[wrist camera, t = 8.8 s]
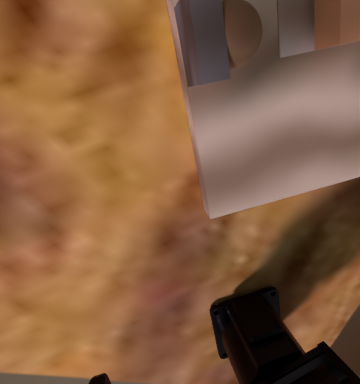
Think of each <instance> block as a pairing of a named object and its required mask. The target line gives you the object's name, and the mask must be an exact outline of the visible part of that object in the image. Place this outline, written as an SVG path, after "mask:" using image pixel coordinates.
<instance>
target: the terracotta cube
mask: <svg viewBox="0 0 360 384" xmlns="http://www.w3.org/2000/svg"><path fill="white" fill-rule="evenodd" d="M314 38H315V50H320V49H324V48H329V47H334V46H338V45H343V44H347V43H352V42H356V41H360V0H314Z"/></svg>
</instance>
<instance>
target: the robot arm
mask: <svg viewBox="0 0 360 384" xmlns="http://www.w3.org/2000/svg"><path fill="white" fill-rule="evenodd" d="M272 292H273V293H272ZM215 311H216V312H215ZM210 316H211V320H212V325H213V330H214V335H215V340H216V344H217V349H218V354H219V356H220V358H221V359H226V358H229V360H230V362H231V365H232V367H233V370H234V372H235V375H236V377H237V380H238V382H239V384H360V378H359V377H358V376H357V375H356V374H355V373H354V372H353V371H352V370H351V369H350V368H349V367H348V366H347V365H346V364H345V363H344V362H343V361H342V360H341V359H340V357H338V356H337V355H336V353H335V352H334V351H333V350H332V349H331V348H330V347H329V346H328V345H327V344H326V343H325V342H324V341H323V342H321V343H319V344H318V345H317V347H315V348H314V349H312V350H310V351H309V352H307V353H305V352H304V350H303V349H302V347H301V346H300V345H299V343H298V342H297V340H296V339H295V338H294V336H293V335H292V333H291V332H290V331H289V329H288V328H287V326H286V325H285V324H284V322H283V321H282V320H281V318H280V308H279V295H278V291H277V289H276V288H275V287H269V288H266V289H263V290H260V291H257V292H254V293H251V294H247V295H244V296H241V297H238V298H235V299H232V300H229V301H226V302H223V303H220V304H217V305H214V306H212V307H211V308H210ZM89 384H111V382H110V380H109V378H108V376H107V374H106V373H103V374H100V375H97V376H94V377H93V378H92V379H91V380H90V382H89Z"/></svg>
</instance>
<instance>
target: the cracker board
mask: <svg viewBox="0 0 360 384" xmlns="http://www.w3.org/2000/svg"><path fill="white" fill-rule="evenodd" d="M166 1H167V6H168V12H169V17H170V23H171V28H172V34H173V39H174V45H175V50H176V56H177V61H178V67H179V72H180V78H181V83H182V89H183V94H184V100H185V105H186V111H187V116H188V122H189V127H190V133H191V138H192V144H193V149H194V155H195V160H196V166H197V171H198V177H199V182H200V188H201V193H202V199H203V204H204V210H205V212H206V213H207V215H208V216H209V217H210V219H213V218H216V217H220V216H223V215H227V214H230V213H234V212H237V211H241V210H245V209H248V208H252V207H255V206H259V205H262V204H266V203H269V202H273V201H276V200H280V199H283V198H287V197H290V196H294V195H298V194H301V193H305V192H308V191H312V190H315V189H319V188H322V187H326V186H329V185H333V184H336V183H340V182H343V181H347V180H351V179H354V178H358V177H360V41H356V42H352V43H347V44H343V45H338V46H334V47H329V48H324V49H320V50H315V38H314V0H166Z"/></svg>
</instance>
